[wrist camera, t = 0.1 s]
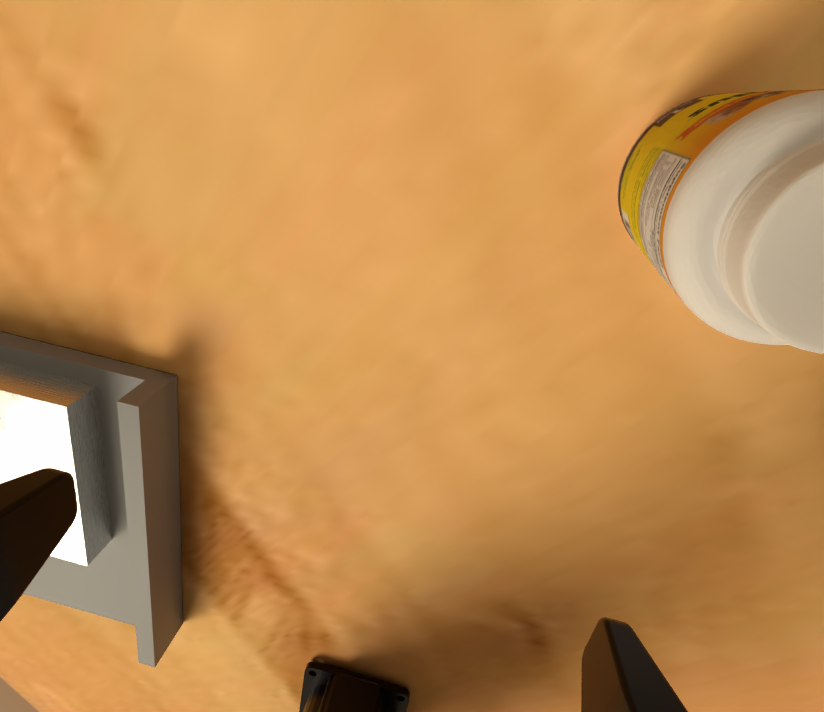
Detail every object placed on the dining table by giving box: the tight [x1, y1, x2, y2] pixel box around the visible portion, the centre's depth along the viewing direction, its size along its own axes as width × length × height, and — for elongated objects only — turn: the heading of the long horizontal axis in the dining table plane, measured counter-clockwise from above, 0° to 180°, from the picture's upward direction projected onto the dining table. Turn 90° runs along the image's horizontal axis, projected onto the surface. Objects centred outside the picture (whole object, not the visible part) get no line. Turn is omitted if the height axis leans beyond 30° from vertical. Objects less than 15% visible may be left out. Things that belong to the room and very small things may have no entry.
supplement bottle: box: [618, 89, 824, 354], centre depth 14 cm, size 6×6×10 cm
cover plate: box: [0, 362, 113, 566], centre depth 28 cm, size 10×9×2 cm
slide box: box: [0, 332, 183, 667], centre depth 29 cm, size 18×16×3 cm
